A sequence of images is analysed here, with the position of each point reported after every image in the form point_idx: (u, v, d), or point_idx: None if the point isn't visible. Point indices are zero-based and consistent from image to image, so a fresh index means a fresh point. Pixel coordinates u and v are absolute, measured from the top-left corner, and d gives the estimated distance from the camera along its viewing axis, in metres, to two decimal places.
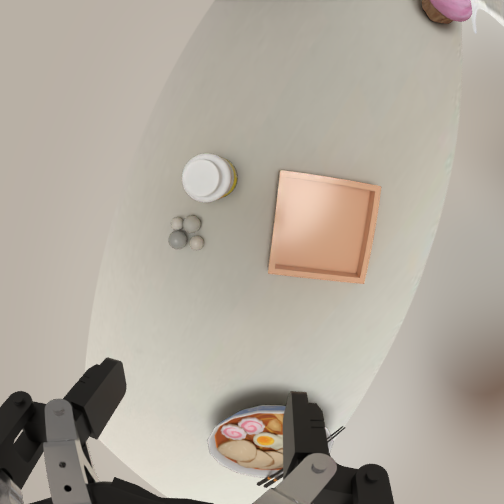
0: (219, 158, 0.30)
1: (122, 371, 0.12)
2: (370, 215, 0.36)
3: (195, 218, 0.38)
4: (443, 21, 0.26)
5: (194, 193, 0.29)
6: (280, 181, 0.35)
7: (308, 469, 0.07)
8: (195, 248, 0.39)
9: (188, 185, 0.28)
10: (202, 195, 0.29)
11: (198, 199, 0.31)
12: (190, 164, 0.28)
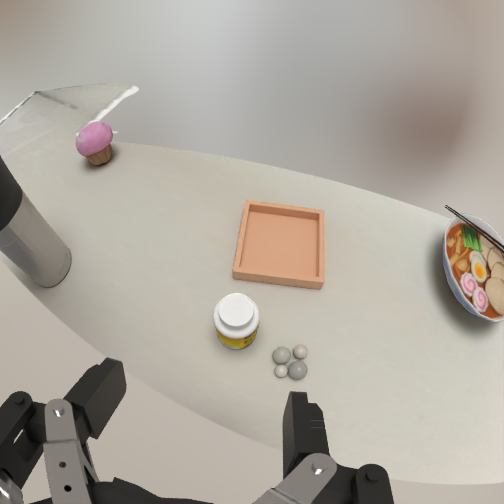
0: (219, 301, 0.34)
1: (122, 371, 0.12)
2: (268, 208, 0.48)
3: (276, 349, 0.37)
4: (110, 151, 0.56)
5: (250, 315, 0.31)
6: (242, 271, 0.42)
7: (308, 469, 0.07)
8: (306, 350, 0.37)
9: (242, 320, 0.30)
10: (252, 308, 0.31)
11: (256, 321, 0.33)
12: (222, 317, 0.31)
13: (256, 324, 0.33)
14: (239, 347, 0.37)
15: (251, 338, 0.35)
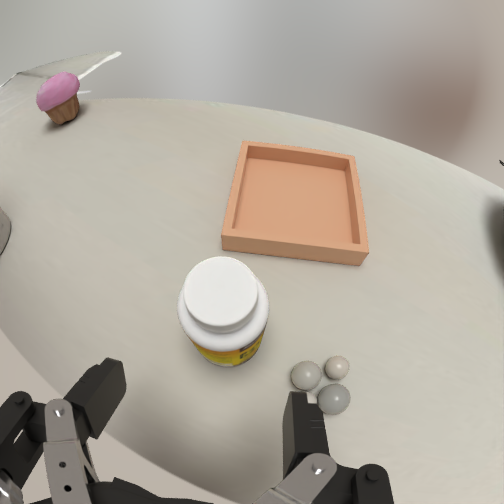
0: None
1: (122, 371, 0.12)
2: (276, 151, 0.32)
3: (296, 366, 0.21)
4: (76, 106, 0.40)
5: (250, 301, 0.14)
6: (237, 235, 0.25)
7: (308, 469, 0.07)
8: (347, 365, 0.20)
9: (233, 313, 0.14)
10: (255, 286, 0.15)
11: (263, 316, 0.16)
12: (190, 306, 0.14)
13: (263, 322, 0.16)
14: (232, 364, 0.20)
15: (253, 349, 0.19)
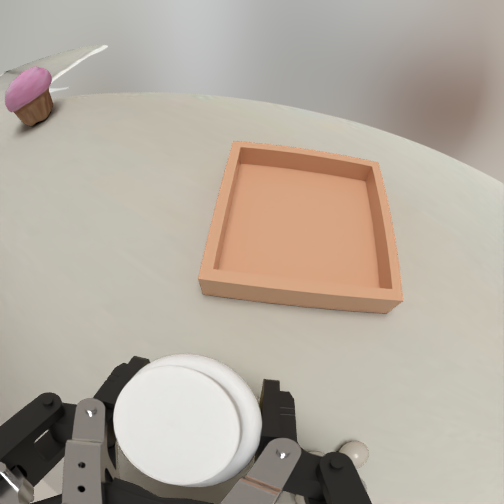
0: (135, 375, 0.10)
1: None
2: (277, 155, 0.24)
3: None
4: (49, 105, 0.32)
5: (226, 452, 0.07)
6: (221, 279, 0.18)
7: (273, 454, 0.08)
8: (367, 454, 0.13)
9: (196, 469, 0.06)
10: (235, 426, 0.07)
11: (252, 446, 0.08)
12: (126, 450, 0.06)
13: (251, 454, 0.08)
14: None
15: None
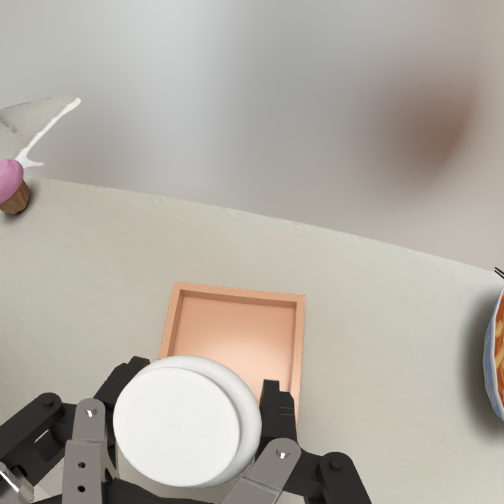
0: (135, 376, 0.09)
1: None
2: (211, 294, 0.29)
3: None
4: (25, 194, 0.37)
5: (226, 454, 0.06)
6: None
7: (273, 454, 0.08)
8: None
9: (196, 470, 0.06)
10: (235, 428, 0.07)
11: (251, 448, 0.08)
12: (126, 451, 0.06)
13: (251, 455, 0.08)
14: None
15: None
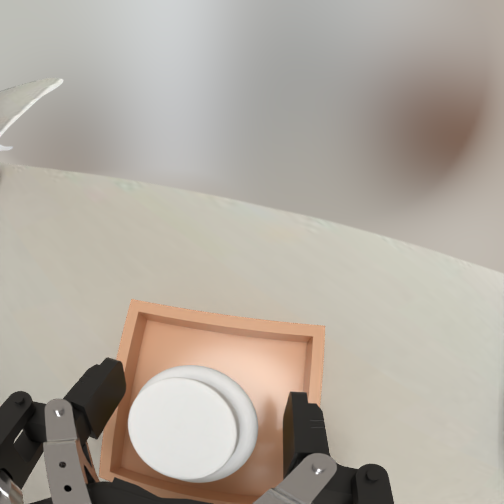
0: (145, 385, 0.11)
1: (122, 371, 0.12)
2: (184, 322, 0.19)
3: None
4: None
5: (226, 450, 0.08)
6: None
7: (308, 469, 0.07)
8: None
9: (201, 465, 0.07)
10: (233, 428, 0.08)
11: (249, 445, 0.09)
12: (140, 451, 0.07)
13: (249, 452, 0.09)
14: None
15: None
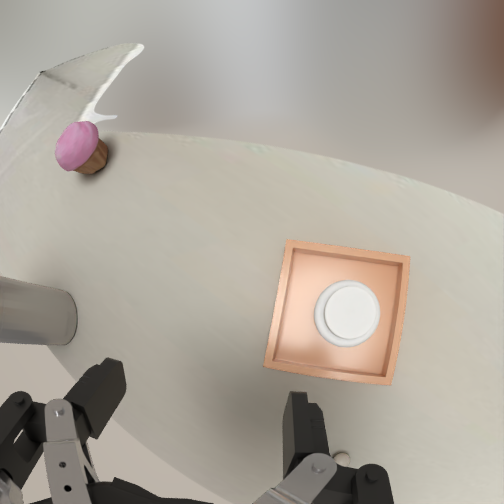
0: (323, 293, 0.22)
1: (122, 371, 0.12)
2: (323, 252, 0.30)
3: None
4: (104, 152, 0.42)
5: (372, 321, 0.19)
6: (276, 367, 0.27)
7: (308, 469, 0.07)
8: (347, 463, 0.23)
9: (360, 329, 0.19)
10: (375, 309, 0.19)
11: (376, 322, 0.21)
12: (331, 326, 0.20)
13: (376, 326, 0.21)
14: None
15: None
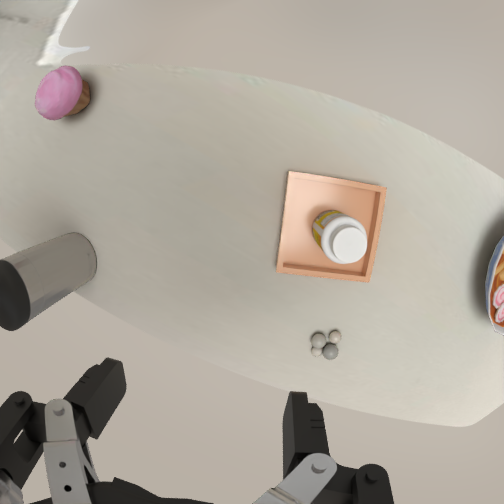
0: (327, 227, 0.31)
1: (122, 371, 0.12)
2: (319, 181, 0.36)
3: (314, 338, 0.42)
4: (86, 90, 0.34)
5: (364, 251, 0.29)
6: (286, 272, 0.39)
7: (308, 469, 0.07)
8: (339, 339, 0.42)
9: (356, 257, 0.29)
10: (366, 243, 0.29)
11: None
12: (337, 255, 0.29)
13: None
14: None
15: None
